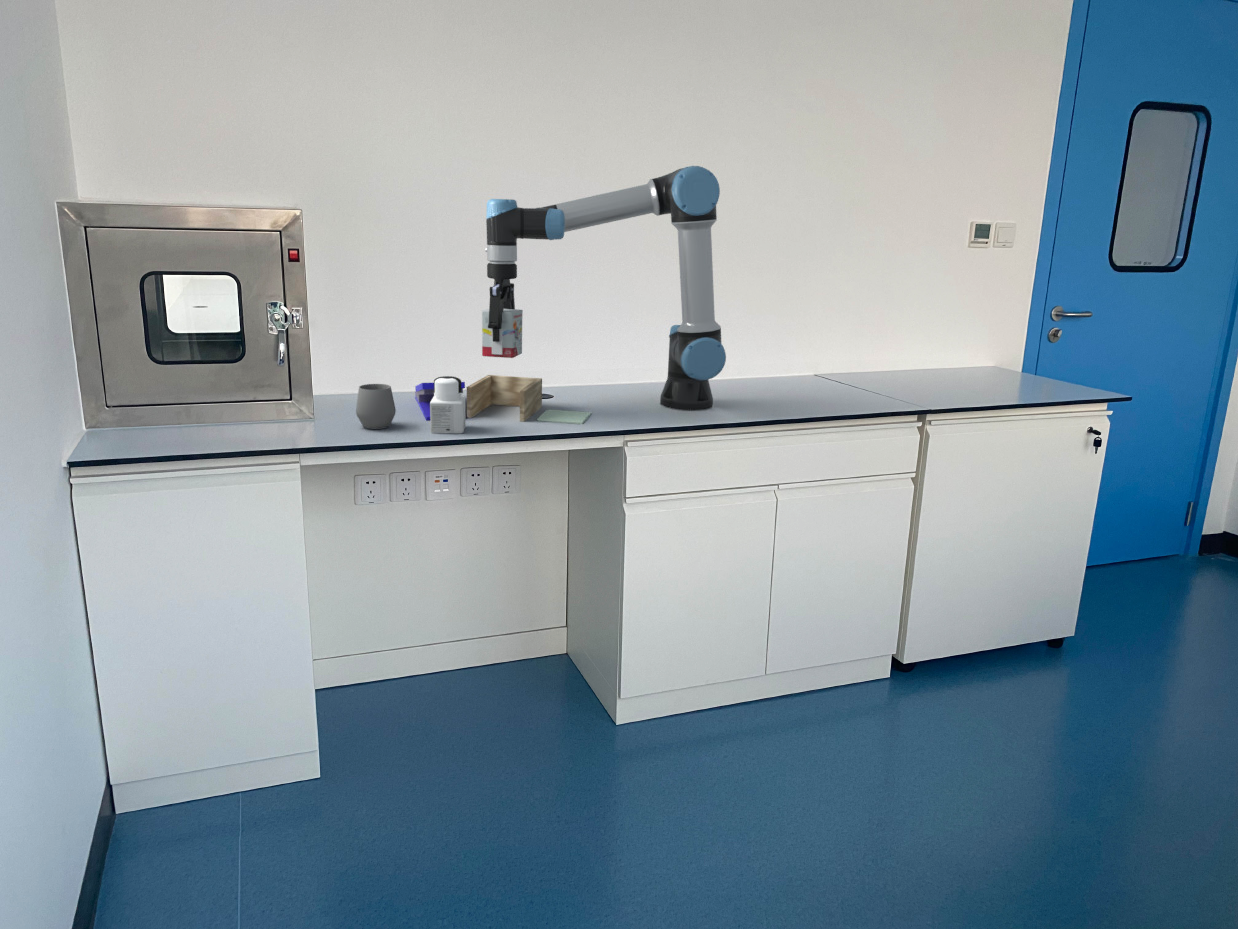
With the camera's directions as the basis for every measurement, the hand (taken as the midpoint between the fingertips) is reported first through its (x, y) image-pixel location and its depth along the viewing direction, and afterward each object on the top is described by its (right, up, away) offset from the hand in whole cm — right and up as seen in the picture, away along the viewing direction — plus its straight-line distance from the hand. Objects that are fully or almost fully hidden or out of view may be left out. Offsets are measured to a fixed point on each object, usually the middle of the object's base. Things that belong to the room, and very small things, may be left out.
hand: (502, 351), depth 228 cm
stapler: (-18, -15, +10) cm, 25 cm away
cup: (-29, -20, -12) cm, 38 cm away
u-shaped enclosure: (0, -15, +8) cm, 17 cm away
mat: (+16, -17, +4) cm, 24 cm away
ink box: (0, -1, 0) cm, 1 cm away
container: (-12, -21, -13) cm, 27 cm away
